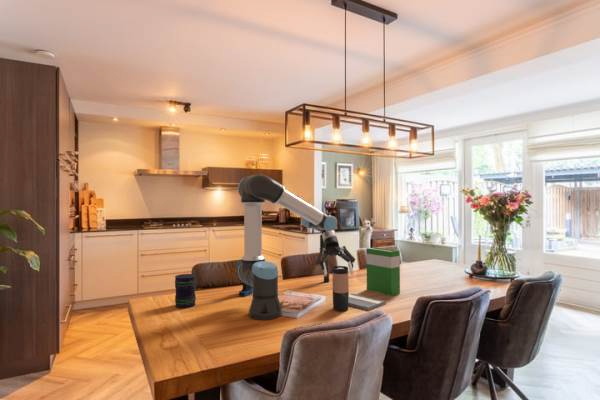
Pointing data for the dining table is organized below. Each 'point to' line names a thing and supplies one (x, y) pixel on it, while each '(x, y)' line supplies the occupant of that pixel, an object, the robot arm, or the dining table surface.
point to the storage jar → (185, 291)
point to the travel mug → (340, 288)
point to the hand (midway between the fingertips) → (339, 274)
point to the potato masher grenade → (326, 279)
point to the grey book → (364, 302)
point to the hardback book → (383, 270)
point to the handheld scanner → (244, 286)
